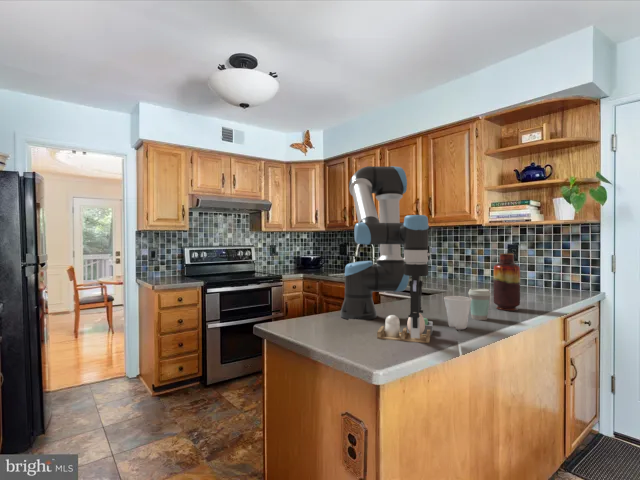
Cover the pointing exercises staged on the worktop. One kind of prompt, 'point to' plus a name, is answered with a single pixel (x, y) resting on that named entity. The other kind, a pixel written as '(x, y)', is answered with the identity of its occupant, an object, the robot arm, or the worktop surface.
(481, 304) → the coffee cup
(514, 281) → the vase
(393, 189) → the robot arm
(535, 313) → the worktop surface
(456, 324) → the cup
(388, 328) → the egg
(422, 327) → the egg
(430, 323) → the button collar
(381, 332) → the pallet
